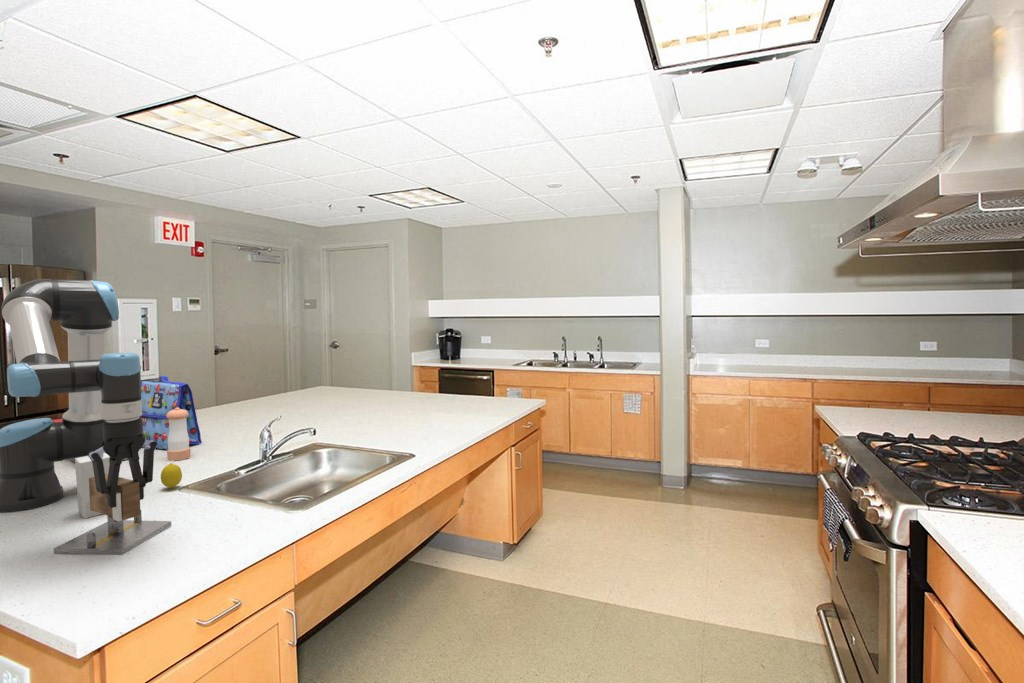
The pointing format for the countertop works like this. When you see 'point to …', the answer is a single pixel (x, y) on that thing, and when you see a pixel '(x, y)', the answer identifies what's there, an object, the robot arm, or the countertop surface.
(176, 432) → the pink and white bottle
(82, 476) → the skincare box
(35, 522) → the countertop surface
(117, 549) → the base plate
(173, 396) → the lunch bag
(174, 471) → the lemon
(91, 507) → the wooden block
